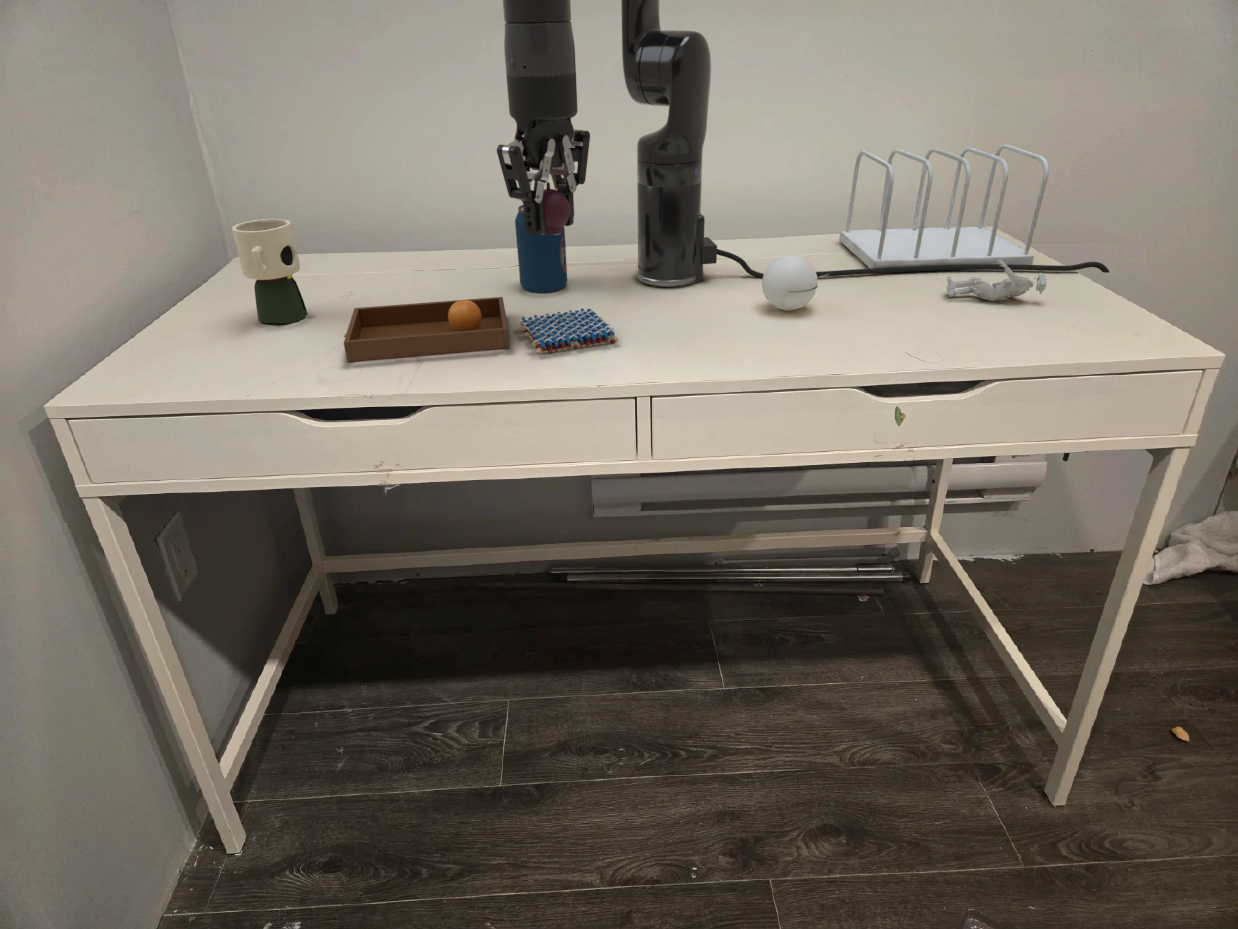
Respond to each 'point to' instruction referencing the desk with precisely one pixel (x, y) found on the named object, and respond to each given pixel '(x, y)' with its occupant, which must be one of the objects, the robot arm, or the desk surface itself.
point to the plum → (555, 210)
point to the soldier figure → (996, 286)
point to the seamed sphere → (789, 282)
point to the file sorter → (939, 242)
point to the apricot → (464, 316)
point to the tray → (422, 331)
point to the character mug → (271, 268)
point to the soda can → (540, 259)
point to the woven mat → (567, 331)
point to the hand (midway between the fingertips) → (550, 228)
